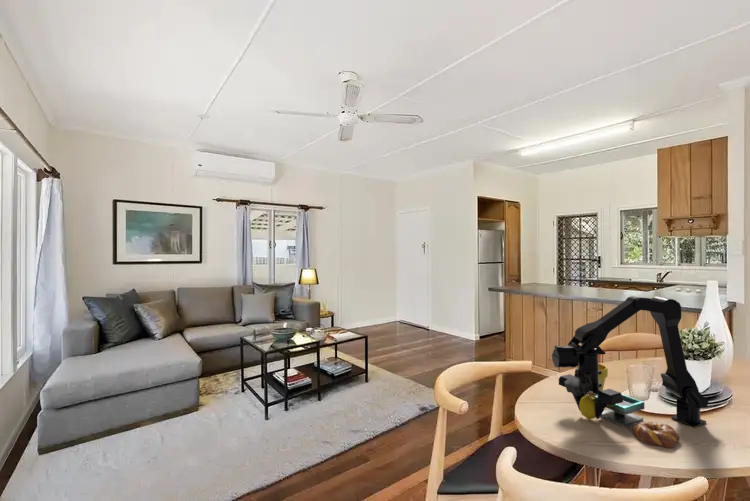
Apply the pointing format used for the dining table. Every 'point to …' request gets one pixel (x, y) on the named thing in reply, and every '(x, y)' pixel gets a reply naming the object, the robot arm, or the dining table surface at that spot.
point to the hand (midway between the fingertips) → (589, 414)
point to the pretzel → (656, 434)
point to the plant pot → (601, 375)
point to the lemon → (587, 407)
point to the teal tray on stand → (624, 411)
